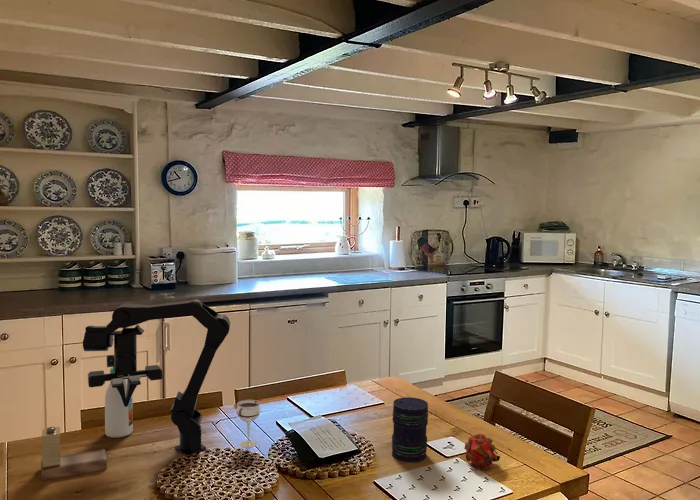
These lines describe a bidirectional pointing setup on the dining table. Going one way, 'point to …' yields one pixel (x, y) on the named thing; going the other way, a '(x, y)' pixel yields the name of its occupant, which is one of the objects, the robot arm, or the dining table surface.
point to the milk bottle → (117, 412)
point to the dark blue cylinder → (409, 429)
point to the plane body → (76, 464)
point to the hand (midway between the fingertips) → (125, 406)
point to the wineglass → (248, 417)
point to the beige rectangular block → (51, 446)
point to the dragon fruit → (481, 451)
